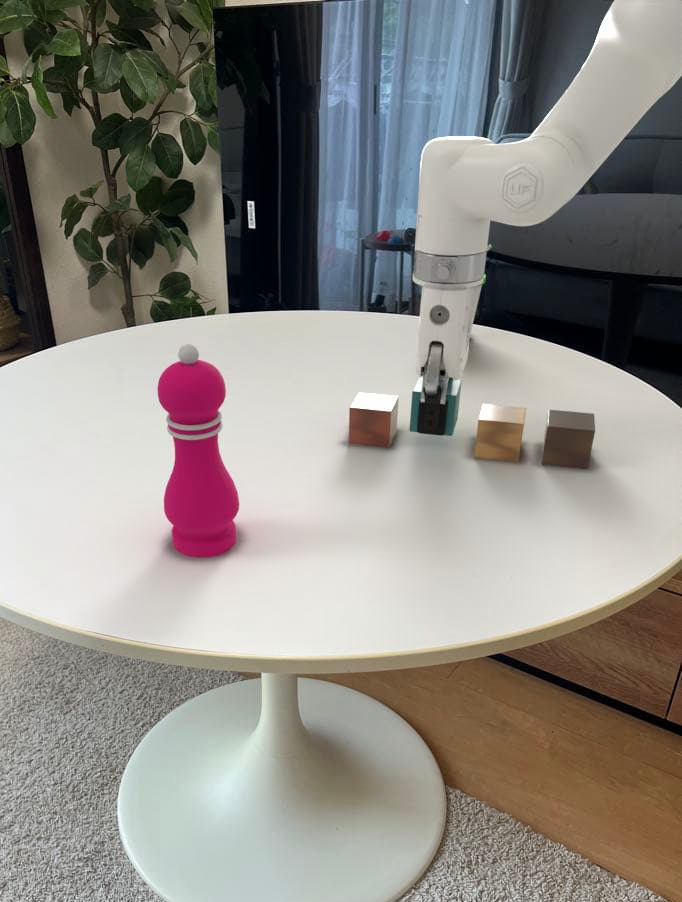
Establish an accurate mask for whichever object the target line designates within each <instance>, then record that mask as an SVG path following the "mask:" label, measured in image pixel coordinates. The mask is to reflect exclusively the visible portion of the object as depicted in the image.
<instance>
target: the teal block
mask: <svg viewBox="0 0 682 902" xmlns="http://www.w3.org/2000/svg"><path fill="white" fill-rule="evenodd" d="M422 382H423V376H422V377H420V376H419V377H418V378H417V381H416V383H415V385H414V387H413V389H412V392H411V405H410V406H411V407H410V417H409V418H410V419H409V430H408V431H409V432H410V433H418V432H417V423H418V410H419V400H420V399H421V390H422ZM442 382H443V381H438V385H439V386H441V389H442ZM461 389H462V380H461V379H458V380H454V379H453V380H451V379H449V380H448V387H447V395H446V402H448V409H447V419H446V429H445V434H444V435H443V436H446V437H452V436H453V435H454V431H455V429H456V425H457V422H458V417H459V410H460V409H459V407H460V398H461Z"/></svg>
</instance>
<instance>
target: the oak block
mask: <svg viewBox="0 0 682 902" xmlns="http://www.w3.org/2000/svg"><path fill="white" fill-rule="evenodd" d="M526 413H527V407H523V406H513V405H503V404H501V405H500V404H492V403H491V404H490V403H482V405H481V408H480V412H479V415H478V421H477V429H476V436H475V437H476V438H475V439H476V440H475V445H474V446H475V447H474V455H473V457H474V458H479V459H489V460H496V461H497V460H498V461H506V462H515V463H516V462H517V463H518V462H519V460H520V454H521V447H522V442H523V441H522V440H523V434H524V428H525V422H526V421H525V420H526Z"/></svg>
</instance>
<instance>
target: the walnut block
mask: <svg viewBox="0 0 682 902" xmlns="http://www.w3.org/2000/svg"><path fill="white" fill-rule="evenodd" d="M546 416H547V418H546V424H545V429H544V434H543V435H544V436H543V442H542V448H541V462H540V465H545V466H553V467H560V468H561V467H563V468H572V469H582V470H589V469H588V468H589V464H590V459H591V454H592V449H593V444H594V439H595V434H596V422H595V421H596V420H595V413H592V412H591V413H590V412H581V411H580V412H579V411H570V410H569V411H567V410H557V409H548V411H547V415H546Z"/></svg>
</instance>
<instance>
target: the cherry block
mask: <svg viewBox="0 0 682 902" xmlns="http://www.w3.org/2000/svg"><path fill="white" fill-rule="evenodd" d="M399 398H400V396H399V395H390V394H379V393H369V392H368V393H367V392H358V393H357V395H356V396H355V398H354V400H353V401H352V403H351V404H350V406H349V408H348V409H349V413H348V414H349V415H348V419H349V420H348V444H349V445H359V446H367V447H375V448H376V447H379V448H386V449H390V447H391V445H392V443H393V440H394V439H395V436H396V434H397V432H398V418H399V417H398V415H399Z"/></svg>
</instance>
